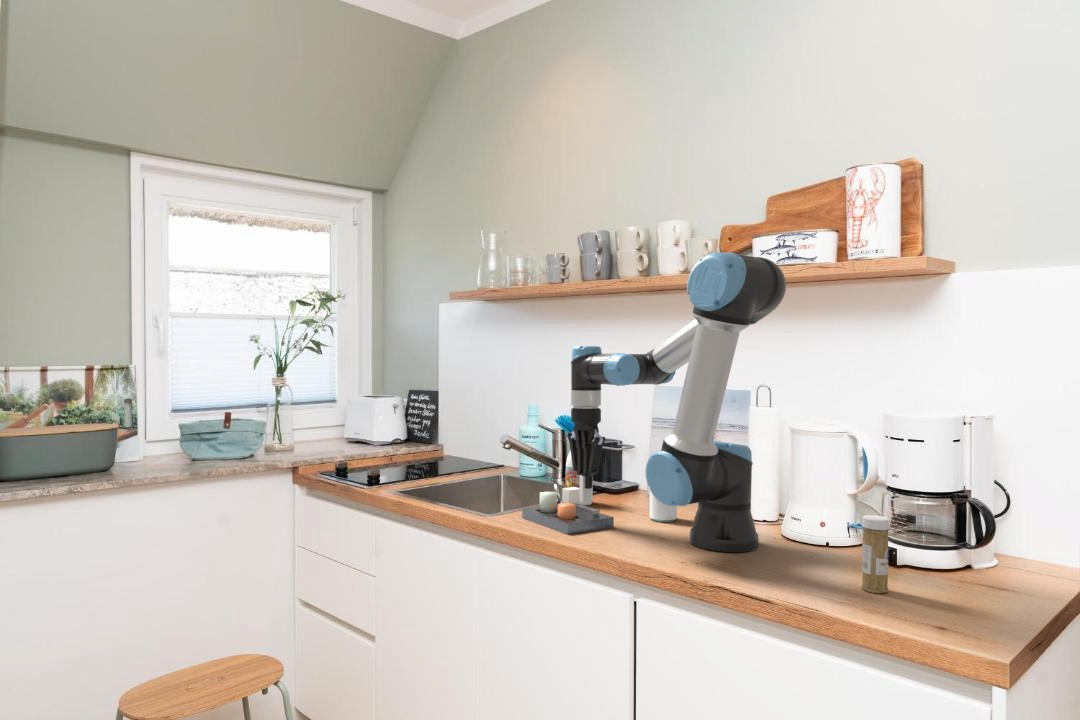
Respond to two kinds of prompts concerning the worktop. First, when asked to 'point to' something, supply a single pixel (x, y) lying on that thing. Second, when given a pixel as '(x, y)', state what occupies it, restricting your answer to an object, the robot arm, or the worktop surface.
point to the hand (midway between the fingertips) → (585, 500)
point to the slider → (570, 495)
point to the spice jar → (875, 553)
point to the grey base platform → (584, 519)
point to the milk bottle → (574, 478)
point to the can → (661, 510)
